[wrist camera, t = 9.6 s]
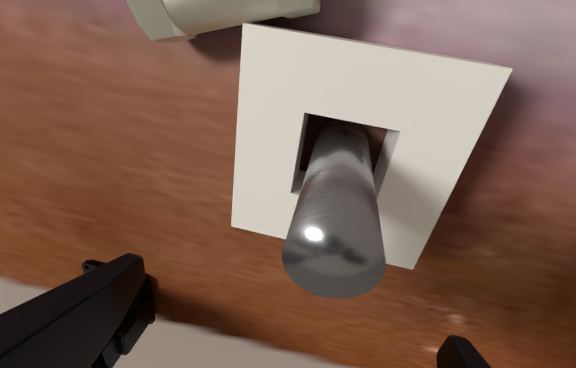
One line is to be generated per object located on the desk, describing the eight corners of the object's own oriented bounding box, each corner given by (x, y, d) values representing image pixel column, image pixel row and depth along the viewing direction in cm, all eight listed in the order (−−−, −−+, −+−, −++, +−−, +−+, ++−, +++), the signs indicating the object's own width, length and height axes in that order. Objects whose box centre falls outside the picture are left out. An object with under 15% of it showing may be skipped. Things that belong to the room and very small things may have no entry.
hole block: (246, 200, 20) (231, 226, 18) (261, 23, 15) (242, 23, 12) (404, 237, 19) (412, 269, 17) (482, 61, 14) (512, 69, 11)
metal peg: (312, 161, 18) (276, 284, 9) (321, 114, 17) (289, 209, 8) (359, 171, 18) (368, 308, 9) (374, 124, 16) (400, 235, 8)
